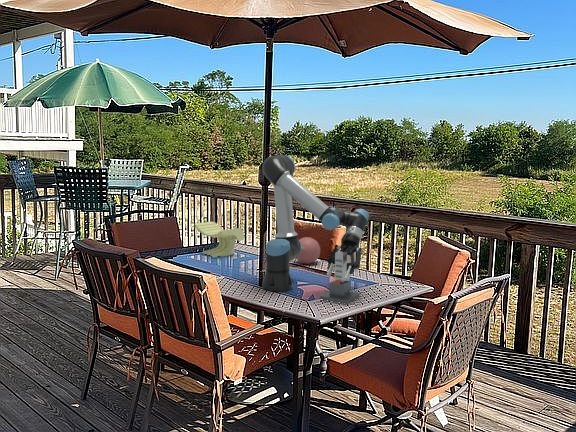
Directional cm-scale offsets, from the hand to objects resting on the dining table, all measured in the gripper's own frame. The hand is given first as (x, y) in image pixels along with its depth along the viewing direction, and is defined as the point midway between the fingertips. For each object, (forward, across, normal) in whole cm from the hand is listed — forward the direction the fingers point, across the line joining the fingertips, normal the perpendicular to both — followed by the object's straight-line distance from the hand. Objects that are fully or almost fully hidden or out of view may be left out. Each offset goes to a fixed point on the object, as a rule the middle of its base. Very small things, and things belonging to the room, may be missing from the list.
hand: (337, 277), depth 268 cm
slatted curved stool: (-26, -104, +41) cm, 115 cm away
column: (+4, 0, +8) cm, 9 cm away
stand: (+5, 0, +10) cm, 11 cm away
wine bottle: (-33, -21, +48) cm, 62 cm away
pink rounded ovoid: (-30, -47, +45) cm, 72 cm away
